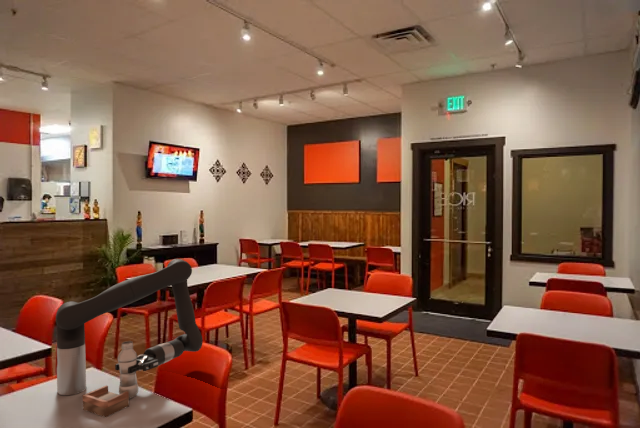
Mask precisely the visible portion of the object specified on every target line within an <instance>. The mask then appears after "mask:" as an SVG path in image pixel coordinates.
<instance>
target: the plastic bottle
mask: <svg viewBox="0 0 640 428" xmlns="http://www.w3.org/2000/svg"><path fill="white" fill-rule="evenodd" d="M121 349H122V350H121V351H120V352H119V354H118V355H117V362H118V363H119V369H120V370H119V386H118V394H119V395H120V394H122V393H124V392H126V391H127V392H129V399H133V398H135V397H136V396H137V395H138V393H139V384H138V378H137V371H136V372H133V373H131V374H129V373H128V368H129V367H131V366H133V365H136V364H137V356H138V354H137V352H136V351H135V350H134V341H133V340H132V341H131V340H128V341H123V342H121ZM118 363H117V364H118Z"/></svg>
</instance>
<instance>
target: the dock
mask: <svg viewBox="0 0 640 428" xmlns="http://www.w3.org/2000/svg"><path fill="white" fill-rule="evenodd" d="M127 407H130V398H129V392H127V391H126V392H124V393H122V394H120V395H119V393H115V392H111V391H109V386H108V385H107V384H106V385H103V386H101V387H99V388H97V389H96V388H95V389H94V390H92V391H90V392H87V393H85V394H83V395H82V410H83V411H85V412H88V413H92V414H95V415H98V416H100V417H103V418H107V417H109V416H112V415H113V414H116V413H118V412H120V411H122V410H124V409H126V408H127Z"/></svg>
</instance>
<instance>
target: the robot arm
mask: <svg viewBox="0 0 640 428" xmlns="http://www.w3.org/2000/svg"><path fill="white" fill-rule="evenodd" d="M192 272H193V269H192V266H191V264H190V263H189V262H187V261H186V260H184V259H181V258H174V259H172V260H170V261H169V262H168V263H167V265H166V267H164V268H162V269H159V270H158V271H156V272H152V273H147V274H142V275H138V276H135V277H131V278H129V279H126V280H123V281H121V282H118V283H116V284H114V285H112V286H110V287H108V288H107V289H105V290H103V291H102V292H101V293H99V294H98V295H96V296H94V297H92V298H89V299H86V300H83V301H81V302H77V301H66V302H64V303H62V304H61V305H60V306H59V308H58V309H57V310H56V314H55V323H56V355H57V356H56V357H57V359H56V360H57V365H56V386H57V388H56V389H57V394H58V395H60V396H73V395H76V394H80V393H82V392H85V390H86V389H87V366H86V365H87V364H86V361H87V360H86V333H85V331H86V330H85V328H86V327H85V324H86V323H88V322H89V321H92V320H93V319H95V318H98V317H100V316H101V315H102V316H103V315H104V314H107V313H111V312H113V311H116V310H117V309H120V308H123V307H125V306H128V305H130V304H133V303H135V302H137V301H139V300H141V299H144V298H146V297H148V296H150V295H153V294H155V293H156V292H158V291H160V290H162V289H166V288H168V287H171V289H172V293H173V297H174V304H175V310H176V317H177V325H178V327H179V330H180V331H183V332H184V333H183V334H181V335H178V336H177V337H176V338H174V339H172V340H169V341H167V342H164V343H159V344H156V345H154V346H152V347H149V348H148V347H147V348H146V349H145V350H144V352H143V353H142V354H137V364H136V365H133V366H131V367H129V368H128V373H129V374H131V373H133V372H136V373H137V371H138V372H141V371H143V372H146V371H150V370H152V369H156V368H157V367H159V366H161V365H164V364H165V363H168V362H170V361H171V360H173V359H175V358H178V357H180V356H182V355H183V354H184V352H194V353H196V352H199V351H200V350H201V349H202V347H203V336H202V334H201V330H200V329H199V327H198V325H197V323H196V317H195V310H194V305H193V302H192V299H191V295H190V292H189V287H188V286H189V285H188V280H189V278H190V277H191V275H192ZM114 368H115V371H120V369H119V363H116V364H115V365H114Z"/></svg>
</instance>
